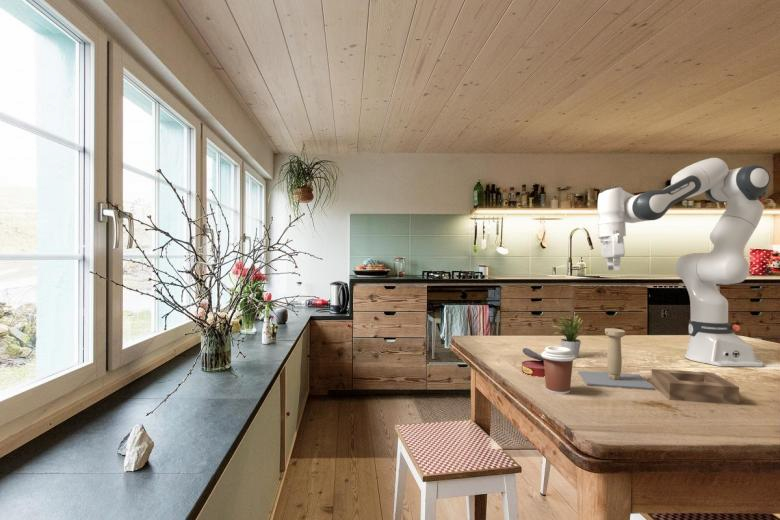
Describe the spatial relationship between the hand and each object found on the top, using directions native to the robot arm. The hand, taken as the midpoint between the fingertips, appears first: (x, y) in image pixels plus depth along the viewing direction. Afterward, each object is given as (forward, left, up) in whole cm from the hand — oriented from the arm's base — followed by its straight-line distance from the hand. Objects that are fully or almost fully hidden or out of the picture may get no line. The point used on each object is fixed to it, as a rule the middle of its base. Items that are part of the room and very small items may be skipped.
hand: (613, 270), depth 158 cm
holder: (-12, +35, -33) cm, 49 cm away
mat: (+6, +27, -33) cm, 43 cm away
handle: (+6, +27, -32) cm, 42 cm away
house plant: (+14, -4, -33) cm, 36 cm away
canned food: (+28, +23, -33) cm, 49 cm away
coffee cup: (+24, +41, -33) cm, 58 cm away
